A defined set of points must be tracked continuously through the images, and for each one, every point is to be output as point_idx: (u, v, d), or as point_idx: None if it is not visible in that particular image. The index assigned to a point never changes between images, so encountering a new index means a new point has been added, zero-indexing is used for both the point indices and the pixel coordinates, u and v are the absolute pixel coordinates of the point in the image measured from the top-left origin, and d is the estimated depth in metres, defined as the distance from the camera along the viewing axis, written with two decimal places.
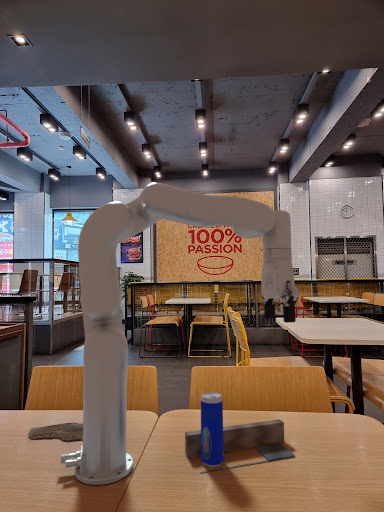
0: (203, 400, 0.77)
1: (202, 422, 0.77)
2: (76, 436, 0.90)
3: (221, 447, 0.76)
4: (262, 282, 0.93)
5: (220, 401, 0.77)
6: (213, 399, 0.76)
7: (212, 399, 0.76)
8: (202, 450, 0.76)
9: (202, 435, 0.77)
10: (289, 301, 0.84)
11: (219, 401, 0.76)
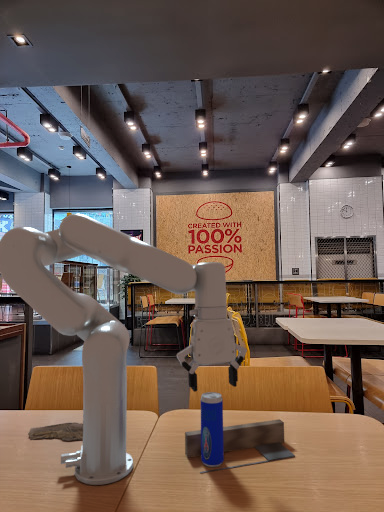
0: (203, 400, 0.77)
1: (202, 422, 0.77)
2: (76, 436, 0.90)
3: (221, 447, 0.76)
4: (200, 347, 0.76)
5: (220, 401, 0.77)
6: (213, 399, 0.76)
7: (212, 399, 0.76)
8: (202, 450, 0.76)
9: (202, 435, 0.77)
10: (239, 362, 0.80)
11: (218, 401, 0.76)
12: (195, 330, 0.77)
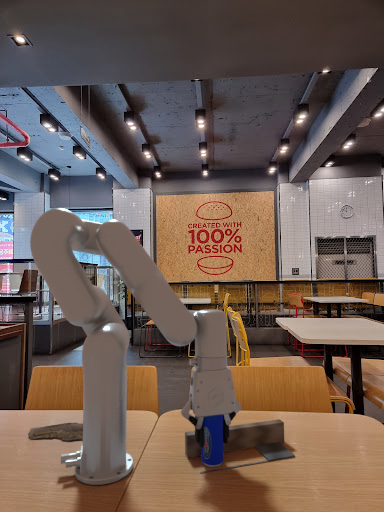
0: None
1: (202, 422, 0.77)
2: (76, 436, 0.90)
3: (221, 447, 0.76)
4: (199, 398, 0.75)
5: None
6: None
7: None
8: (202, 450, 0.76)
9: None
10: (231, 418, 0.78)
11: None
12: (194, 381, 0.76)
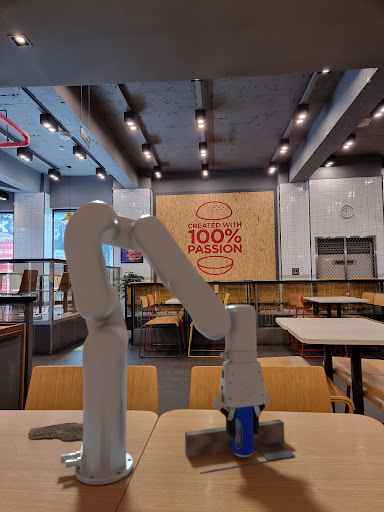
0: None
1: None
2: (76, 436, 0.90)
3: (252, 437, 0.78)
4: (231, 390, 0.77)
5: None
6: None
7: None
8: (233, 441, 0.79)
9: None
10: (260, 409, 0.81)
11: None
12: (226, 373, 0.78)
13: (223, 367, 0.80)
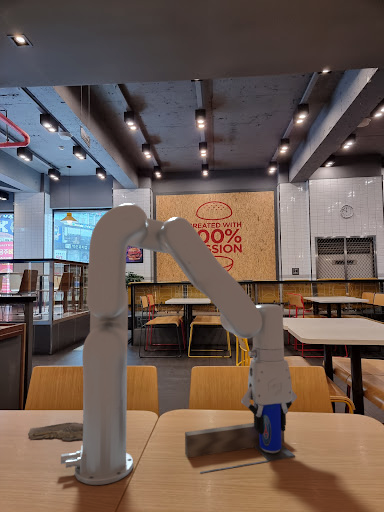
0: None
1: None
2: (76, 436, 0.90)
3: (280, 434, 0.80)
4: (260, 387, 0.79)
5: None
6: None
7: None
8: (261, 437, 0.81)
9: None
10: (287, 407, 0.83)
11: None
12: (255, 371, 0.80)
13: (251, 365, 0.82)
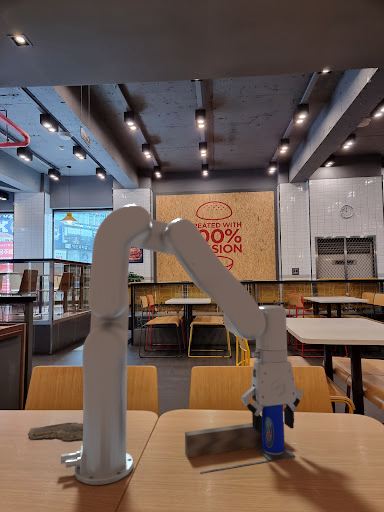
0: None
1: (264, 413, 0.81)
2: (77, 436, 0.90)
3: (283, 436, 0.80)
4: (264, 389, 0.79)
5: None
6: None
7: None
8: (264, 439, 0.81)
9: (264, 425, 0.81)
10: (295, 404, 0.83)
11: None
12: (258, 372, 0.80)
13: (255, 366, 0.82)
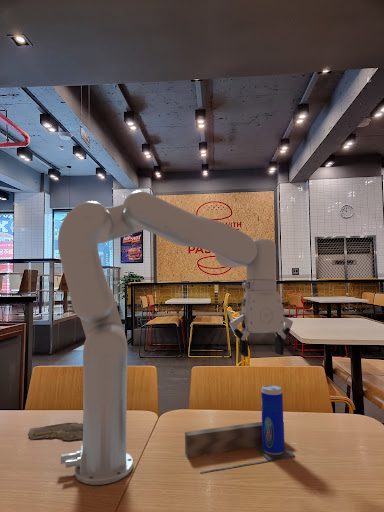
0: (264, 392, 0.81)
1: (264, 413, 0.81)
2: (77, 435, 0.90)
3: (283, 436, 0.80)
4: (252, 315, 0.82)
5: (281, 393, 0.81)
6: (275, 391, 0.81)
7: (274, 391, 0.81)
8: (264, 439, 0.81)
9: (264, 425, 0.81)
10: (285, 333, 0.86)
11: (280, 393, 0.81)
12: (248, 300, 0.83)
13: (244, 296, 0.85)
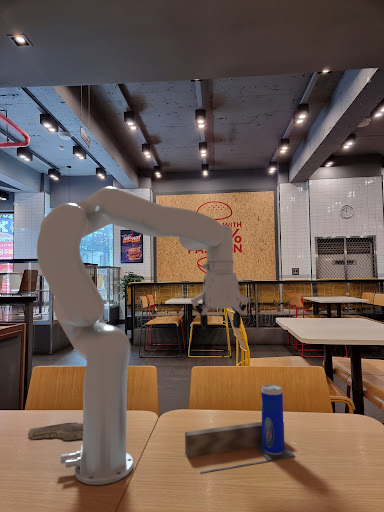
0: (264, 392, 0.81)
1: (264, 413, 0.81)
2: (77, 435, 0.90)
3: (283, 436, 0.80)
4: (211, 293, 0.93)
5: (281, 393, 0.81)
6: (275, 391, 0.81)
7: (274, 391, 0.81)
8: (264, 439, 0.81)
9: (264, 425, 0.81)
10: (242, 309, 0.97)
11: (280, 393, 0.81)
12: (207, 280, 0.93)
13: (204, 276, 0.95)
